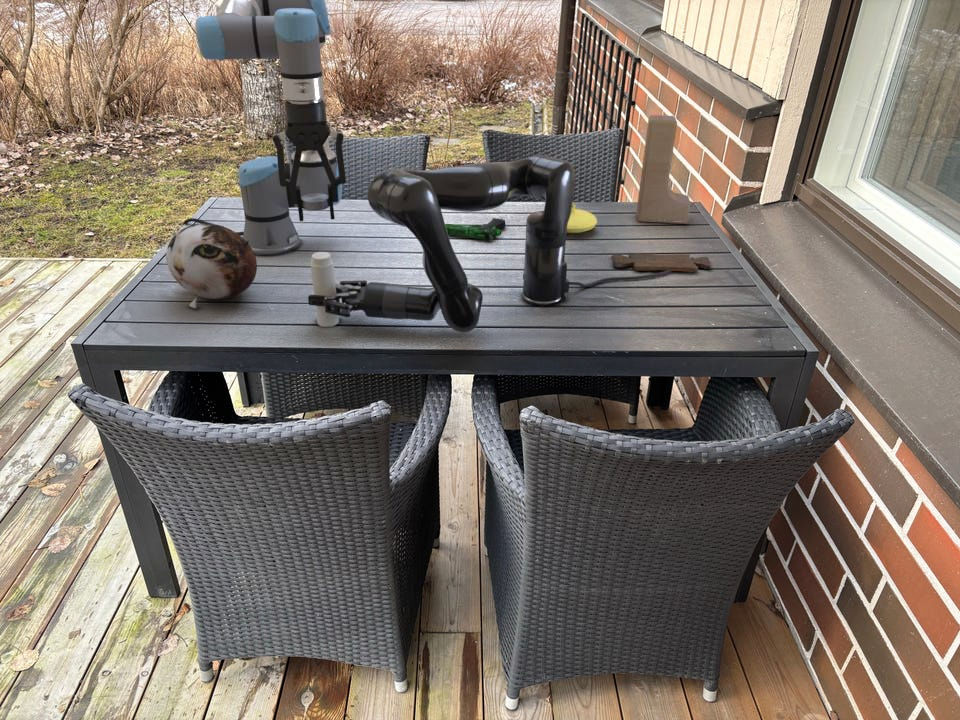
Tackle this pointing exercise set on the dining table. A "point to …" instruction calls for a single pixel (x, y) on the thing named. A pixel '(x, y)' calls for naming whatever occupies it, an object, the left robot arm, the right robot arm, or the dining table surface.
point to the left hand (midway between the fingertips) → (317, 217)
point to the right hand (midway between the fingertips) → (313, 294)
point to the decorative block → (660, 176)
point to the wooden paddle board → (661, 262)
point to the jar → (324, 286)
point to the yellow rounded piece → (580, 221)
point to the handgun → (478, 230)
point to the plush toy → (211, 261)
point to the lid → (315, 201)
